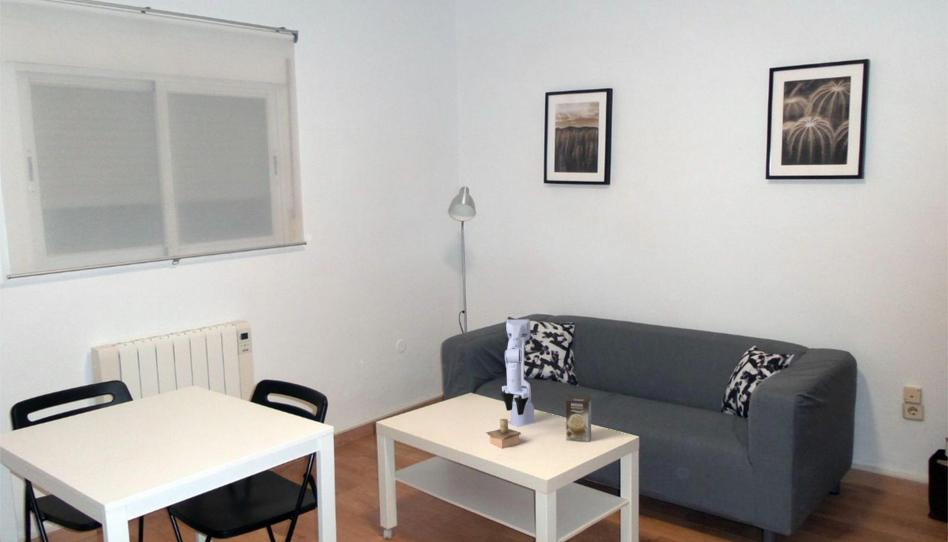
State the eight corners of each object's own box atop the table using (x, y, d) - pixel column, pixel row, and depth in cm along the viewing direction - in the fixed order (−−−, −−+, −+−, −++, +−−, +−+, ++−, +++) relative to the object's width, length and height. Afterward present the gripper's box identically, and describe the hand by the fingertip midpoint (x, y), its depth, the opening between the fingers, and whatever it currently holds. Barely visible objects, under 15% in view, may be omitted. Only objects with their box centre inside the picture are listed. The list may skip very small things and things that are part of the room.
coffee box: (565, 440, 299) (564, 400, 298) (569, 435, 305) (568, 396, 304) (589, 442, 296) (588, 401, 295) (592, 437, 302) (591, 397, 301)
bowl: (507, 440, 302) (507, 430, 302) (519, 445, 295) (518, 435, 295) (490, 444, 298) (490, 434, 297) (502, 449, 291) (501, 439, 291)
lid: (504, 429, 302) (504, 415, 302) (520, 434, 296) (520, 419, 295) (487, 434, 297) (487, 420, 296) (503, 440, 290) (503, 425, 289)
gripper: (495, 376, 306) (496, 410, 307) (516, 383, 294) (517, 418, 295) (509, 374, 309) (510, 407, 311) (531, 380, 297) (532, 415, 299)
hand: (514, 412), depth 303 cm, fingers open, 7 cm apart
